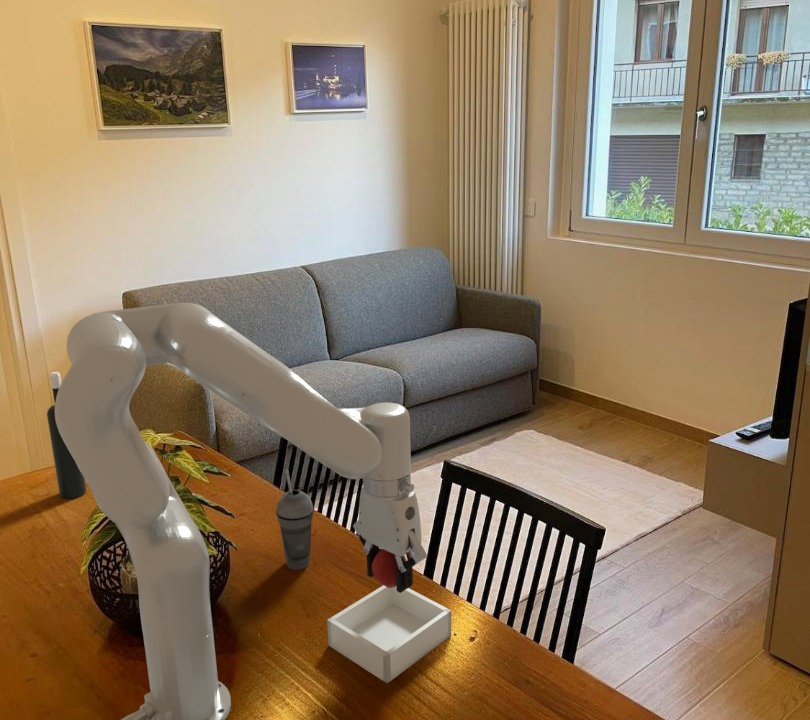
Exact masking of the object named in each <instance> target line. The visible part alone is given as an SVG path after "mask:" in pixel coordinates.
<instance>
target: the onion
mask: <svg viewBox="0 0 810 720" xmlns="http://www.w3.org/2000/svg"><path fill="white" fill-rule="evenodd" d="M403 558H404V561H405V562H406V561H407V557H406V556H405V555H404V556H403ZM398 569H399V567H398V564H397V560H396V557H395V554H393V553H391V552H389V551H387V550H384V549H382V550H381V551H379V552H378V553H377V554H376V556H375V558H374V560H373V563H372V572H373V577H374V579H375V580H376V581H377V582H378V583H379V584H381V585H382V586H383V585H384V586H386V587H387V588H392V587H395V586H397V585H396V571H397V570H398Z"/></svg>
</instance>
